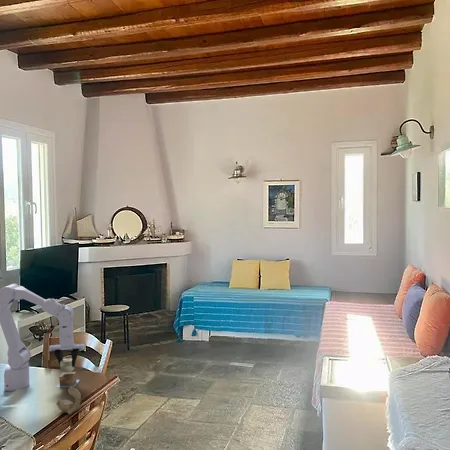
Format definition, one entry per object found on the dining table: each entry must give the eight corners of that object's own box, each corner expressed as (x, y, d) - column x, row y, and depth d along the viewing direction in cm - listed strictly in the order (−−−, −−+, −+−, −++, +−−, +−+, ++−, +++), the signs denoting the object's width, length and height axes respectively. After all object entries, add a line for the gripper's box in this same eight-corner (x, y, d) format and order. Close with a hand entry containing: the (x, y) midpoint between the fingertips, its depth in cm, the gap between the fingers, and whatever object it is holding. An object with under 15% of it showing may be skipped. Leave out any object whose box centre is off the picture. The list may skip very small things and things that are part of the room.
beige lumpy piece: (54, 415, 162) (57, 386, 167) (55, 417, 167) (57, 389, 172) (79, 413, 164) (81, 384, 169) (79, 416, 170) (81, 388, 175)
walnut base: (59, 386, 192) (59, 376, 192) (63, 381, 198) (63, 372, 198) (72, 385, 193) (72, 376, 192) (76, 380, 198) (75, 371, 198)
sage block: (60, 372, 192) (60, 362, 192) (63, 368, 197) (63, 358, 197) (71, 372, 193) (71, 361, 192) (74, 368, 197) (73, 358, 197)
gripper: (46, 338, 190) (47, 370, 190) (81, 337, 191) (82, 368, 191) (51, 334, 197) (52, 365, 198) (85, 332, 198) (86, 363, 198)
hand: (67, 366), depth 195 cm, fingers closed on sage block, 4 cm apart
